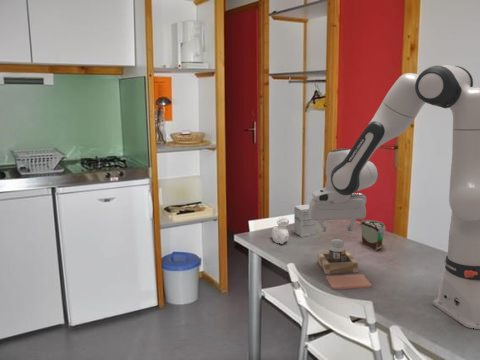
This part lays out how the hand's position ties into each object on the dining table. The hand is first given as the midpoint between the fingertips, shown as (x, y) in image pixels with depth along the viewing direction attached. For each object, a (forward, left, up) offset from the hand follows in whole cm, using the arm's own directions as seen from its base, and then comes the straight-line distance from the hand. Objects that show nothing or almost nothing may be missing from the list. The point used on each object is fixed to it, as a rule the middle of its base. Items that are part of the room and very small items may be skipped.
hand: (336, 230), depth 169 cm
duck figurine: (+31, +16, -14) cm, 37 cm away
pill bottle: (0, 0, -14) cm, 14 cm away
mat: (-14, 0, -14) cm, 20 cm away
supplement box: (+39, +4, -14) cm, 41 cm away
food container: (+19, -21, -14) cm, 32 cm away
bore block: (0, 0, -14) cm, 14 cm away
